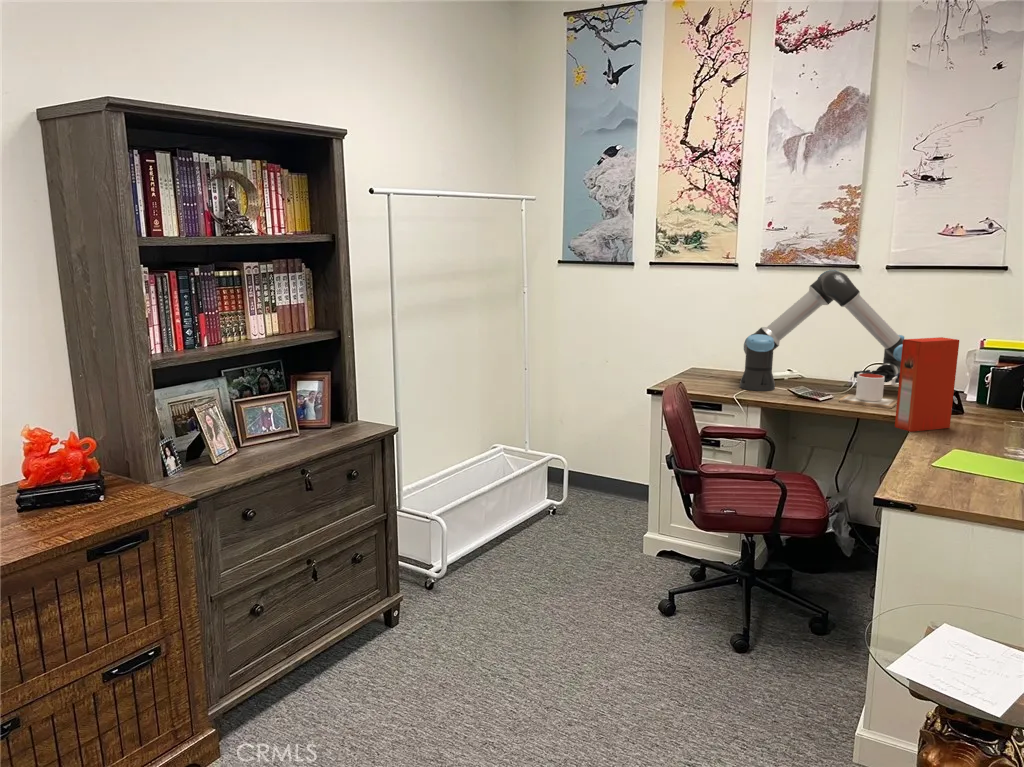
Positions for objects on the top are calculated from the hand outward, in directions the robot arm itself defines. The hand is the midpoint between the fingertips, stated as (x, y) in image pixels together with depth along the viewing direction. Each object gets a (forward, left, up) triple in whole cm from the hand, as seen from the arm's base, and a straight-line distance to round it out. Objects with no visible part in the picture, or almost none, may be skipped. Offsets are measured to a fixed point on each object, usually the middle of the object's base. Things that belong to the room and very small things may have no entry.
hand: (874, 379), depth 315 cm
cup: (0, -6, -8) cm, 10 cm away
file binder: (+25, -38, -9) cm, 46 cm away
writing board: (0, -6, -9) cm, 10 cm away
